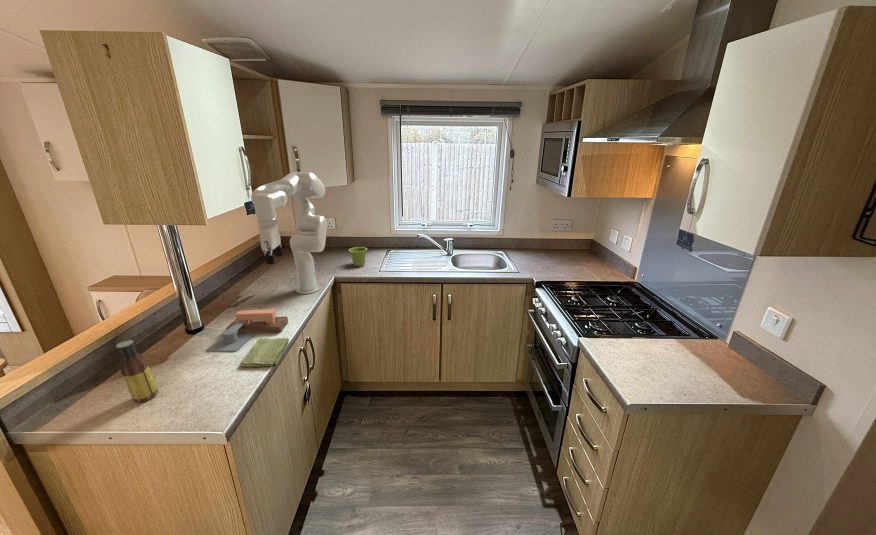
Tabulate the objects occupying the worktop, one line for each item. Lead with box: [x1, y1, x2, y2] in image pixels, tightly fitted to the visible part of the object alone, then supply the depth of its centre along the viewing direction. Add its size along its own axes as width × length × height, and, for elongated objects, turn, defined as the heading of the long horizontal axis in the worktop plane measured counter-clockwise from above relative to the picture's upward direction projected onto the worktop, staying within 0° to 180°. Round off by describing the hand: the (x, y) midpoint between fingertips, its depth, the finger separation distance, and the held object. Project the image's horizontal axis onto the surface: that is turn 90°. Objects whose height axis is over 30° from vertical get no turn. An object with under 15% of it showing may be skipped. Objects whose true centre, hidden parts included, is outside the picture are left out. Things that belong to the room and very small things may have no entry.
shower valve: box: [206, 322, 254, 353], centre depth 136 cm, size 12×6×15 cm
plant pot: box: [348, 246, 368, 267], centre depth 224 cm, size 12×12×11 cm
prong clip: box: [235, 308, 277, 325], centre depth 145 cm, size 4×15×8 cm, turn 94°
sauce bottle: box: [115, 339, 159, 403], centre depth 103 cm, size 7×6×20 cm
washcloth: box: [238, 337, 290, 368], centre depth 128 cm, size 13×18×3 cm
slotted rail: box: [225, 316, 289, 334], centre depth 146 cm, size 9×22×3 cm, turn 94°
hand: (275, 259), depth 150 cm, fingers open, 9 cm apart
